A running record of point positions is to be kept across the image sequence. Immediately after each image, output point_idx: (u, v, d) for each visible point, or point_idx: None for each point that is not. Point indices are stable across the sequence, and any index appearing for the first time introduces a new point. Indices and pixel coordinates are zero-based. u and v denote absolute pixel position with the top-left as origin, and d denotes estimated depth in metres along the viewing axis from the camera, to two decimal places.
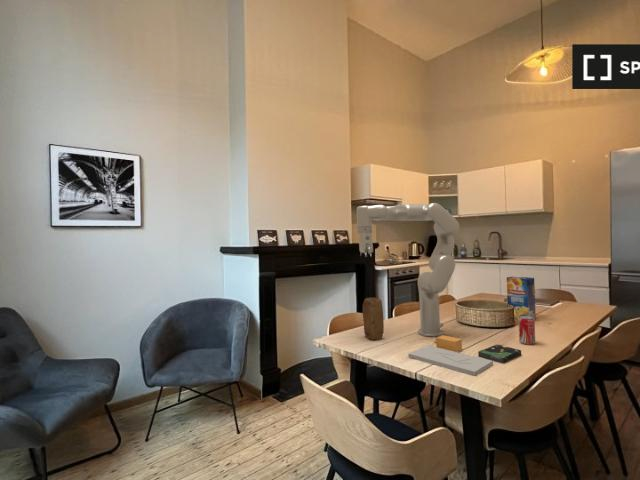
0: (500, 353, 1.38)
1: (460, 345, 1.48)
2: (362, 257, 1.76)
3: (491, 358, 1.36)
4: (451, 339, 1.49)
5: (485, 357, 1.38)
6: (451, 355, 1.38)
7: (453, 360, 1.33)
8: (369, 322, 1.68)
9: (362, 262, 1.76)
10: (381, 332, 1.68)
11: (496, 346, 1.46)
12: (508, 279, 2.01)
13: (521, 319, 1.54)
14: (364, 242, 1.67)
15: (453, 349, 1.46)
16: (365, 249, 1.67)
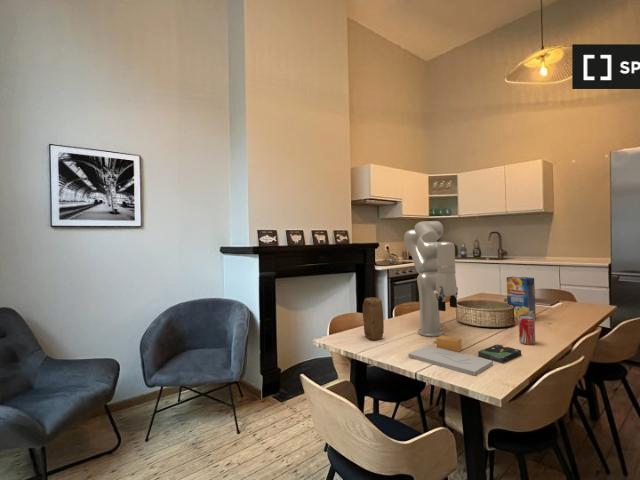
0: (500, 353, 1.38)
1: (460, 345, 1.49)
2: None
3: (491, 358, 1.36)
4: (451, 339, 1.49)
5: (485, 357, 1.38)
6: (451, 355, 1.38)
7: (453, 360, 1.33)
8: (369, 322, 1.68)
9: None
10: (381, 332, 1.68)
11: (496, 346, 1.46)
12: (508, 279, 2.01)
13: (521, 319, 1.54)
14: None
15: (454, 349, 1.46)
16: None
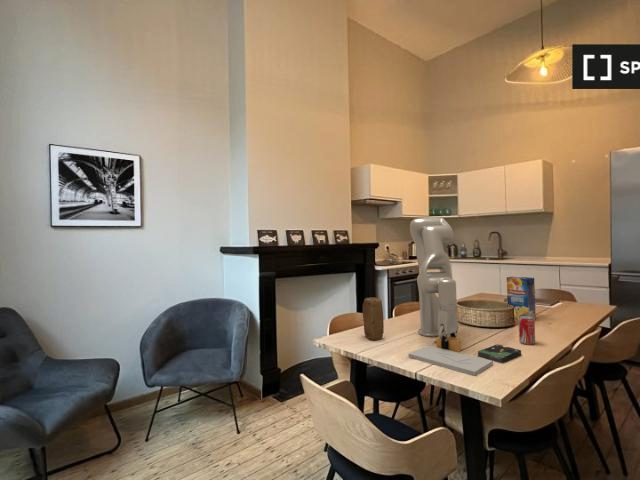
0: (500, 353, 1.38)
1: (460, 344, 1.49)
2: None
3: (490, 357, 1.36)
4: (452, 338, 1.50)
5: (484, 357, 1.38)
6: (451, 355, 1.38)
7: (453, 360, 1.33)
8: (369, 321, 1.68)
9: None
10: (381, 332, 1.68)
11: (496, 346, 1.46)
12: (508, 279, 2.01)
13: (521, 319, 1.54)
14: None
15: (455, 349, 1.46)
16: None
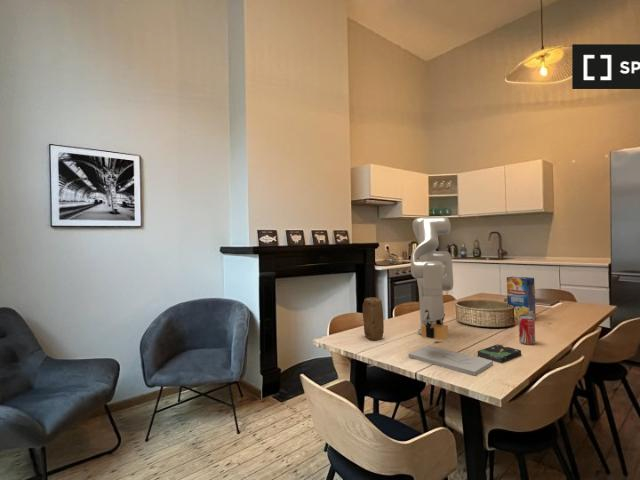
0: (499, 353, 1.38)
1: (446, 332, 1.40)
2: None
3: (490, 357, 1.36)
4: (437, 326, 1.40)
5: (484, 357, 1.38)
6: (451, 355, 1.38)
7: (453, 360, 1.33)
8: (369, 322, 1.68)
9: None
10: (381, 332, 1.68)
11: (496, 346, 1.46)
12: (508, 279, 2.01)
13: (521, 319, 1.54)
14: None
15: (440, 336, 1.37)
16: None
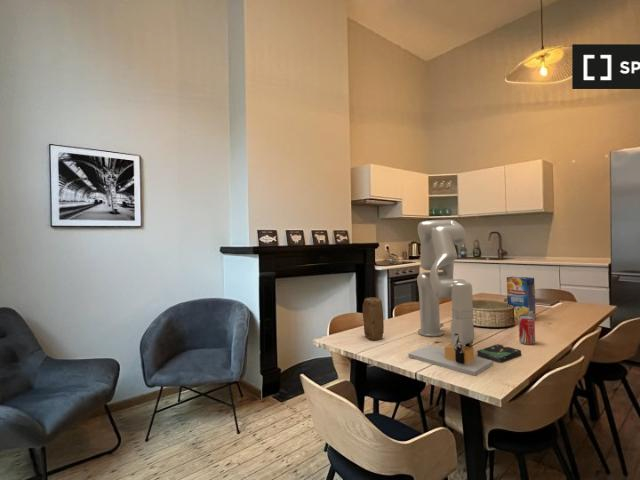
0: (499, 352, 1.38)
1: (472, 355, 1.31)
2: None
3: (489, 357, 1.36)
4: None
5: (483, 356, 1.39)
6: None
7: None
8: (369, 322, 1.68)
9: None
10: (381, 332, 1.68)
11: (496, 346, 1.46)
12: (508, 279, 2.01)
13: (521, 319, 1.54)
14: None
15: (465, 359, 1.29)
16: None
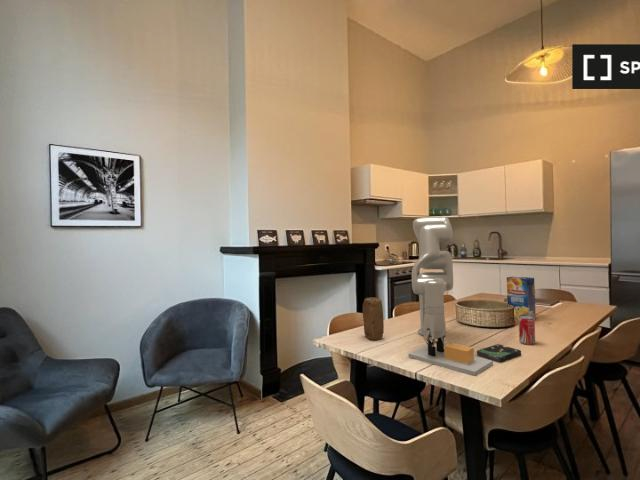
0: (498, 352, 1.38)
1: (472, 355, 1.31)
2: None
3: (489, 357, 1.37)
4: (462, 348, 1.32)
5: (483, 356, 1.39)
6: None
7: None
8: (369, 321, 1.68)
9: None
10: (381, 332, 1.68)
11: (496, 346, 1.46)
12: (508, 279, 2.01)
13: (521, 319, 1.54)
14: None
15: (464, 359, 1.29)
16: None
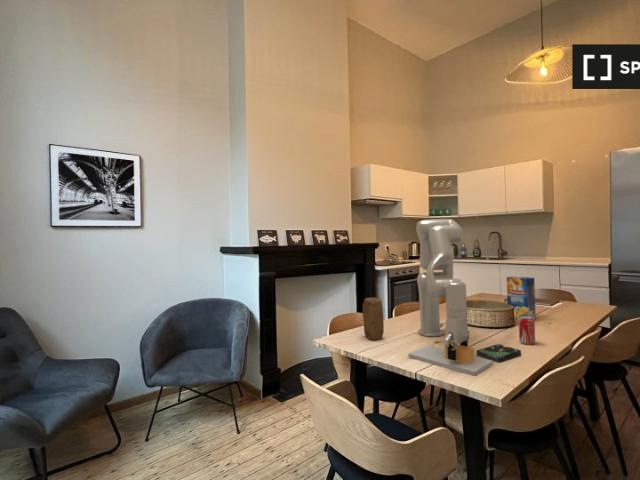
0: (498, 352, 1.38)
1: (472, 355, 1.31)
2: None
3: (488, 357, 1.37)
4: (462, 348, 1.32)
5: (483, 356, 1.39)
6: None
7: None
8: (369, 321, 1.68)
9: None
10: (381, 332, 1.68)
11: (496, 346, 1.46)
12: (508, 279, 2.01)
13: (521, 319, 1.54)
14: None
15: (464, 359, 1.29)
16: None
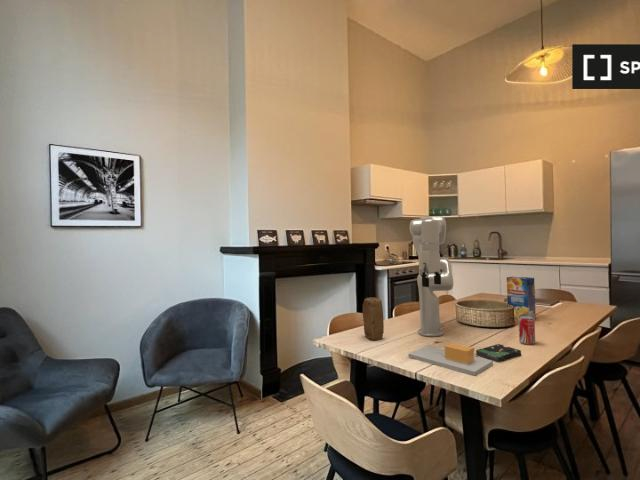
0: (498, 352, 1.39)
1: (472, 355, 1.31)
2: None
3: (488, 356, 1.37)
4: (462, 348, 1.32)
5: (482, 356, 1.40)
6: None
7: None
8: (369, 321, 1.68)
9: None
10: (381, 332, 1.68)
11: (496, 345, 1.47)
12: (508, 279, 2.01)
13: (521, 319, 1.54)
14: None
15: (464, 359, 1.29)
16: None
